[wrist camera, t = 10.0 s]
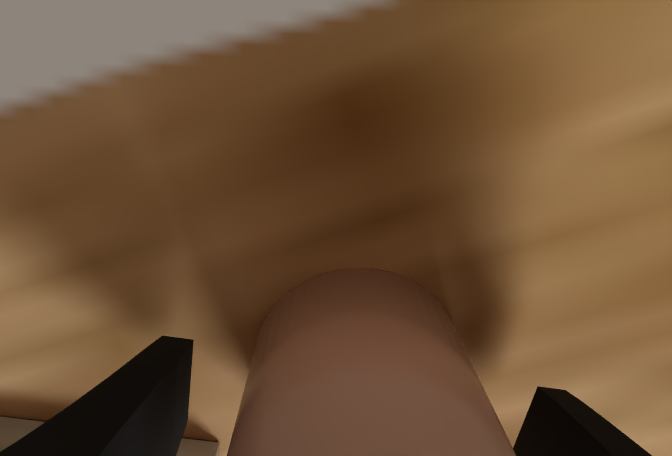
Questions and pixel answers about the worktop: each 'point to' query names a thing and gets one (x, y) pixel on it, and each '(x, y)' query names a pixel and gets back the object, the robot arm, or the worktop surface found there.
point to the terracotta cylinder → (363, 376)
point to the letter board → (12, 429)
